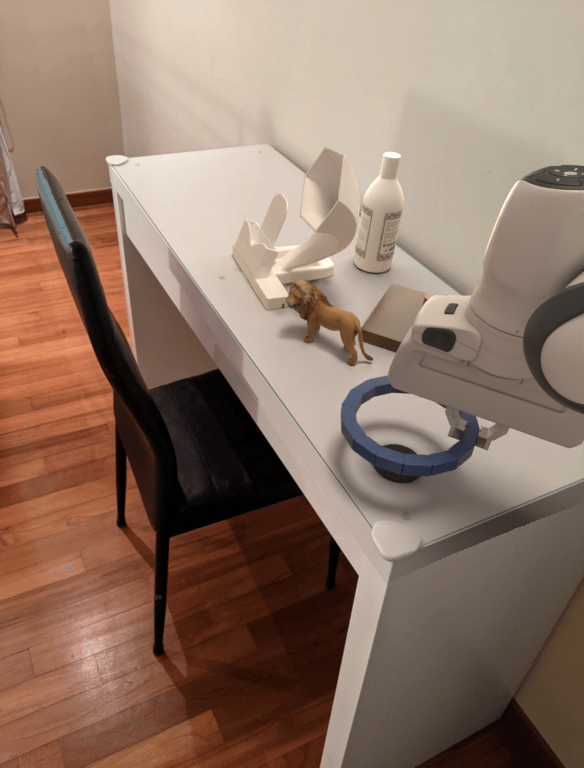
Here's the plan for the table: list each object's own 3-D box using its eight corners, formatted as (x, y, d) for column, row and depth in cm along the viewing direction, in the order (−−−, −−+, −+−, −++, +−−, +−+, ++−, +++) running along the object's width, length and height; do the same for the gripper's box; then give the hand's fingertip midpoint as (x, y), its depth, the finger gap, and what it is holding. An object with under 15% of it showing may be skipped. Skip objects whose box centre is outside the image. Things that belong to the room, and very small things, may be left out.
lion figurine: (276, 336, 92) (281, 284, 86) (294, 320, 95) (299, 269, 90) (365, 372, 87) (375, 319, 81) (380, 353, 90) (391, 302, 85)
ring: (486, 408, 73) (490, 397, 72) (459, 495, 62) (462, 484, 61) (366, 372, 77) (367, 362, 76) (320, 447, 66) (321, 436, 65)
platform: (482, 321, 100) (493, 289, 96) (461, 373, 88) (472, 339, 85) (389, 293, 104) (396, 261, 101) (358, 339, 93) (364, 306, 89)
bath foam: (394, 260, 114) (417, 152, 101) (386, 277, 108) (409, 165, 96) (358, 252, 115) (376, 144, 102) (348, 268, 110) (366, 156, 97)
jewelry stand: (232, 255, 110) (235, 109, 94) (311, 246, 115) (327, 107, 99) (280, 332, 93) (295, 169, 77) (371, 318, 98) (402, 163, 82)
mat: (427, 456, 75) (428, 454, 74) (414, 490, 70) (415, 487, 70) (381, 439, 76) (382, 437, 76) (365, 471, 72) (366, 468, 72)
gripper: (623, 354, 58) (568, 455, 66) (415, 291, 63) (389, 393, 72) (621, 391, 53) (562, 495, 62) (397, 321, 59) (372, 425, 67)
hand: (468, 439), depth 67 cm, fingers closed on ring, 2 cm apart
